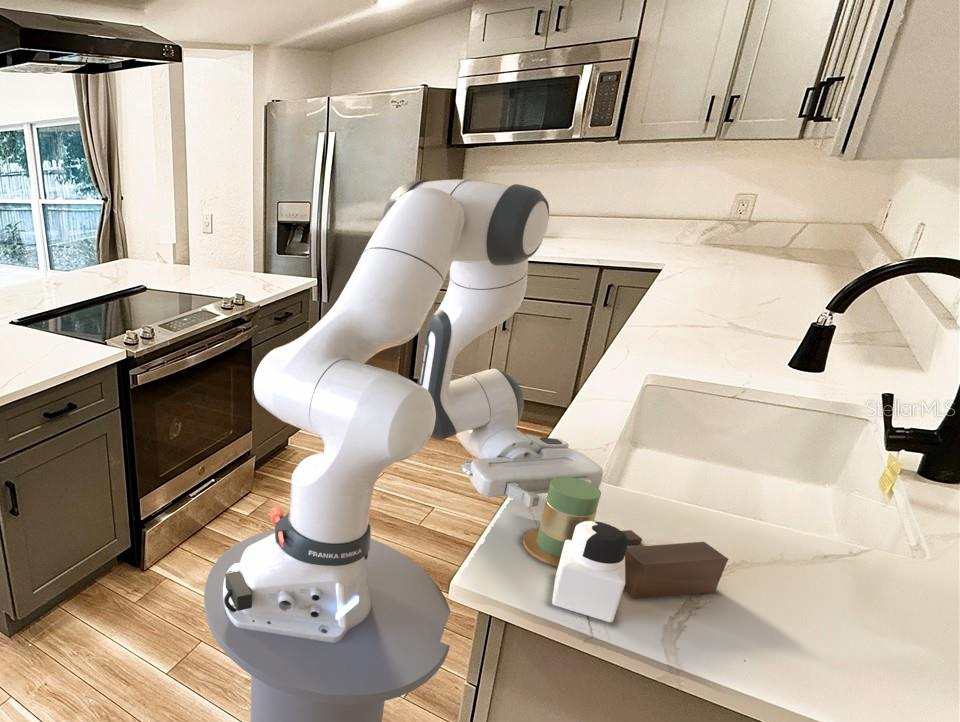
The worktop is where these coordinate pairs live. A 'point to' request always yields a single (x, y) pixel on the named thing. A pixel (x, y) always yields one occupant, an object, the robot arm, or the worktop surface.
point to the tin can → (566, 512)
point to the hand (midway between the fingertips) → (563, 500)
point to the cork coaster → (538, 549)
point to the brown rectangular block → (671, 568)
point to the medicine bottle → (592, 571)
